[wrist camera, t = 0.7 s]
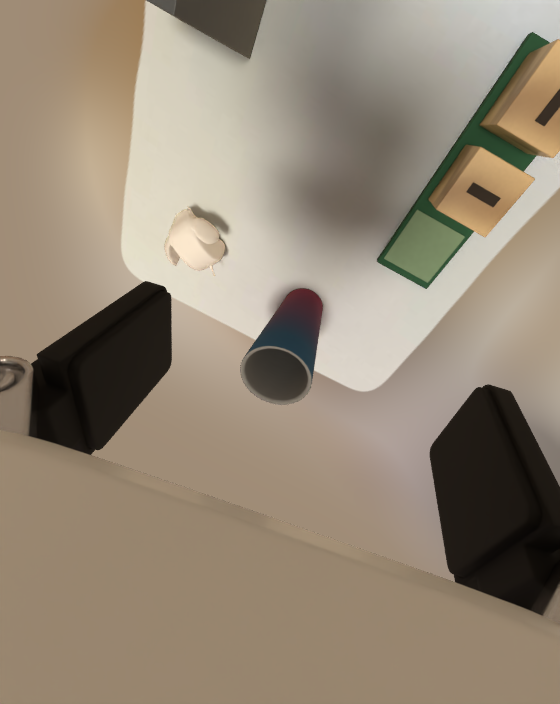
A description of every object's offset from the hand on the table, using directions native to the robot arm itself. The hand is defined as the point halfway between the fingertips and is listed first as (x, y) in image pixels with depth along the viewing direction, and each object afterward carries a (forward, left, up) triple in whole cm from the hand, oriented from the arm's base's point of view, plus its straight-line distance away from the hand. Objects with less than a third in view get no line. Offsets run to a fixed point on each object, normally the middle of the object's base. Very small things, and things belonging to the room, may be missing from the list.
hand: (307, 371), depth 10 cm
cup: (+12, +7, -30) cm, 33 cm away
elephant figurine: (+16, -7, -30) cm, 35 cm away
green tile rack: (-9, +5, -30) cm, 32 cm away
